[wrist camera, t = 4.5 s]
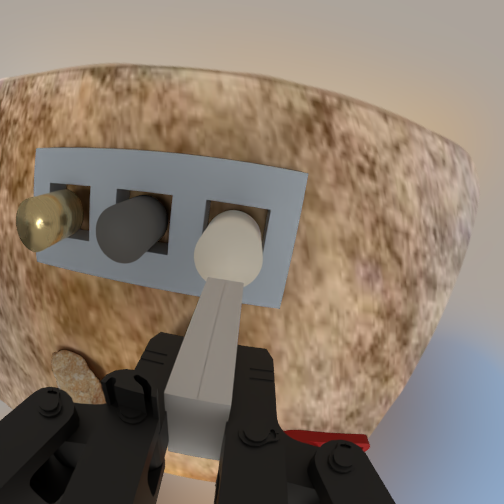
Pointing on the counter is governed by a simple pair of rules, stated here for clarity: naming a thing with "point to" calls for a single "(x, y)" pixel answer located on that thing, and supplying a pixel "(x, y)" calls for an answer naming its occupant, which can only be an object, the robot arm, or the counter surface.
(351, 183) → the counter surface
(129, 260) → the dark gray cylinder
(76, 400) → the stone
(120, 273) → the grey slotted holder
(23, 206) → the gold cylinder
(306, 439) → the lever
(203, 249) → the white rounded cylinder
